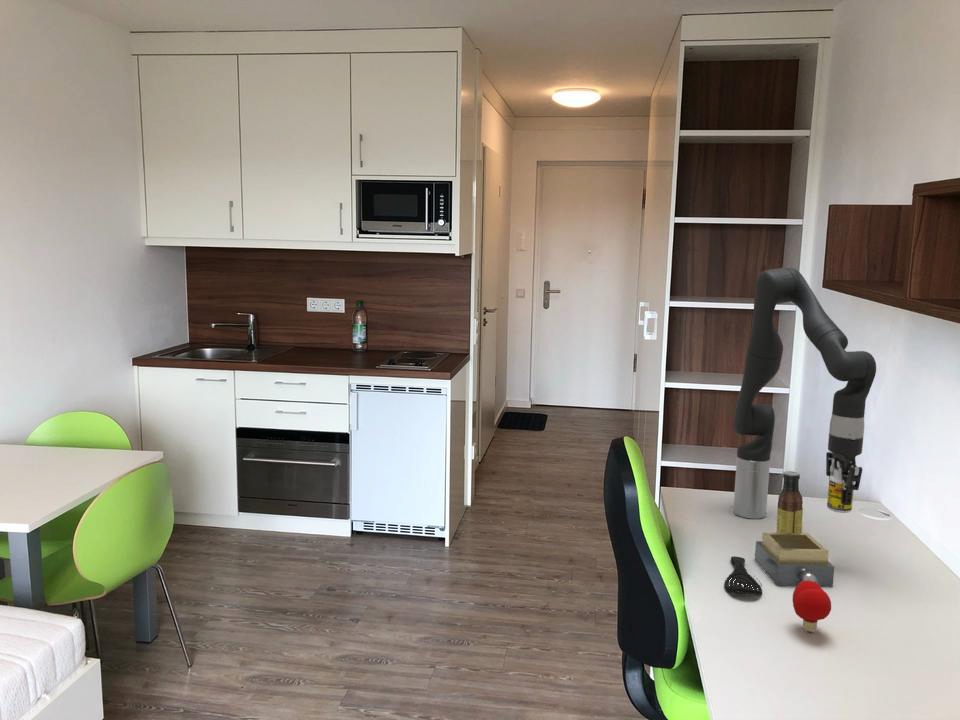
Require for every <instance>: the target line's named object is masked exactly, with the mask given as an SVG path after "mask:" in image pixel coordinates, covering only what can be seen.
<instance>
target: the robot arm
mask: <svg viewBox="0 0 960 720" xmlns="http://www.w3.org/2000/svg"><path fill="white" fill-rule="evenodd" d="M755 283H756V284H755V288H754V289H755V290H754V299H753V313H752V314H753V316H752V321H751V322H752V323H751V330H750V336H749V341H748V344H747V348H746V349H747V350H746V355H745V362H744V370H743V376H742V380H741V382H742V383H741V387H740V390H739V394H738V397H737V400H736V406H735V407H734V408H735V410H734V414H733V420H732V422H733V429H734V431H735V432H736V434H738V435H741V436H756V437H755V438H754V439H752V440H751V441H749V442H746V443H744V444H740V445H739V446H738V447H737V451H736V463H735V465H736V466H735V468H736V469H735V481H734V495H733V510H732V511H733V514H735V515H736V516H739V517H742V518H746V519H755V520H756V519H763V518H766V516H767V506H768V494H769V493H768V490H769V481H770V480H769V479H770V466H771V465H770V464H771V453H772V448H773V438H774V431H775V422H776V421H775V419H776V415H775V409H774V408H773V406H772V405H770V404H767V403H754V401H755V399H756V397H757V395H758V394H759V392H760V391H762V390H763V388H765V386H767V384H768V383H770V381H771V380H772V379H773V378H774V377H775V376H776V374H778V372H779V370H780V367H781V363H782V358H783V354H784V353H783V351H784V345H783V341H782V338H781V336H780V334H779V332H778V330H777V328H776V326H775V323H774V317H775V316H774V315H775V310H776V307H777V306H776V305H778V304H784V303H789V302H790V303H791V302H792V303H793V304H794V305H796V307H798V308H799V310H800V311H801V314H802V326H803V332H804V334H805V335H806V337H807V338H808V340H809V341H810V342H811V343H812V344H813V346H814V347H815V348H816V350H817V351H819V353H820V355H821V357H822V360H823V362H824V365H825V368H826V370H827V372H828V373H829V374H830V376H832V378H833V379H836V380H837V381H839V382H846V385H845V386H844V387H843V388H842V389H838V390H837V391H835V392H834V393H833V398H832V412H831V418H830V420H829V429H828V430H829V432H828V443H827V449H828V451H829V452H826V454H825V455H826V456H825V457H826V458H825V460H826V461H825V468H826V469H825V472H826V473H825V474H826V476H827V477H828V480H829V479H830V476H832V475H833V474H834V473H833V472H834V468H837V469H838V470H839V479H840V480H841V481H842V488H843V489H842V496H841V503H842V504H843V505H851V502H852V492H853V490H854V491H858V490H859V487H860V485H861V484H860V483H861V479H862V473H863V467H862V466H857V461H856V457H857V456H860V455H861V454H862V452H863V445H864V436H865V435H864V434H865V410H866V400H867V398H868V395H869V393H870V391H871V388H872V387H873V386H872V385H873V383H874V381H875V377H876V374H877V363H876V359H875V358H874V356H873V354H872V353H871V352H868V351H864V350H858V351H857V350H855V351H846V349H847V347H848V345H849V339H848V337H847V335H846V334H845V333H844V332H843V331H842V329H840V328H839V326H838V325H836V323H835V322H834V321H833V320H832V319H831V317H830V316H829V315H828V314H827V313H826V311H825V310H824V308H823V306H822V305H821V304H820V301H819V300H818V298H817V297H816V295H815V294H814V292H813V290H812V288H811V287H810V285H809V283H808V282H807V280H806V278H805V277H804V276H803V274H802V273H801V272H800V271H799V270H798V269H796V268H795V267H782V268H773V269H767V270H766V269H765V270H763V271H762V272H760V273H759V275H758V276H757V280H756V282H755ZM844 475H848V477H845V476H844ZM846 480H847V485H846ZM853 493H854V492H853ZM852 503H853V502H852Z"/></svg>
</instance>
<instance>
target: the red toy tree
mask: <svg viewBox="0 0 960 720" xmlns="http://www.w3.org/2000/svg"><path fill="white" fill-rule="evenodd" d="M792 607H793V609H794V612H795V614H796V615H797V616H798V618H800V619H802V628H803V629H804V630H805V631H806V633H809V634H811V633H813V632H816V631H817V629H818V622H819V621H822V620H824V619H826V618H828V616H829V615H830V613H831V611H832V600H831V599H830V596H829V594H828V593H827V592H826V591H824V589H823V587H820V586H819V585H818V584H817V583H815V582H813V581H802V582H800V583H799V584H798V585H797V586H795V587H794V590H793V593H792Z"/></svg>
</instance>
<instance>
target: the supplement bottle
mask: <svg viewBox="0 0 960 720" xmlns="http://www.w3.org/2000/svg"><path fill="white" fill-rule="evenodd" d="M833 473H834V474H833V475H832V476H830V479H829V478H828V482H829V483H828V491H827V503H826V507H827V509H828V510H830V511H832V512H834V513H838V514H839V513H840V514H848V513H850V512H851V511H852V509H853V500H854V491H855V490H853V492H852V502H851V505H843V504H842V503H841V496H842V489H843V488H842V481H841V480H840V479H839V470H838V469H837V468H834V472H833ZM844 476H845V477H848V475H844ZM846 485H847V480H846Z"/></svg>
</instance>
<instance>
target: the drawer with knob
mask: <svg viewBox="0 0 960 720" xmlns="http://www.w3.org/2000/svg"><path fill="white" fill-rule="evenodd" d="M761 534H762V535H761V541H760V540H759V541H757V540H756V541H755V547H754V548H755V549H754V550H755V551H754V562H756V564H757V565H758V564H759V565H760V566H761V567H762V568H763V569H764V570H765V572H766V573H767V574H768V575H769V576H770V577H769V576H768V575H767V574H766V573H765V572H764V573H765V574H766V575H767V576H768V577H769V579H770V578H771V579H772V580H773V581H774V582H773V581H772V580H771V579H770V580H771V581H772V582H773V583H774V584H775V586H776V585H777V586H776V587H796V586H797V585H798V584H799V583H800V582H802V581H813V582H815V583H817V584H818V585H819V586H820V587H821V588H833V587H834V580H835V579H834V577H835V565H834V564H832V563H831V562H830V561H829V555H830V552H829V550H828V549H827V548H826V547H824V546H823V545H822V544H821V543H820V542H819V541H818V540H817V539H815V538H814V537H813V536H812V535H811V534H810V533H808V532H806V533H805V532H802V533H777V532H762V533H761ZM759 565H758V566H759ZM760 566H759V567H760ZM761 567H760V568H761ZM762 568H761V569H762ZM763 569H762V570H763ZM764 570H763V571H764Z"/></svg>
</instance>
